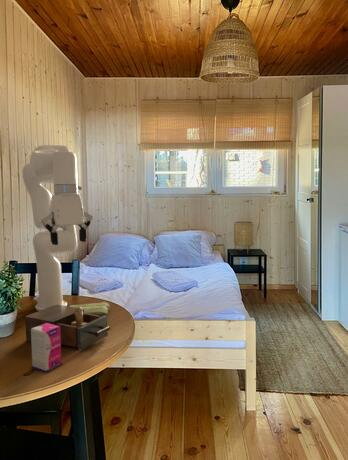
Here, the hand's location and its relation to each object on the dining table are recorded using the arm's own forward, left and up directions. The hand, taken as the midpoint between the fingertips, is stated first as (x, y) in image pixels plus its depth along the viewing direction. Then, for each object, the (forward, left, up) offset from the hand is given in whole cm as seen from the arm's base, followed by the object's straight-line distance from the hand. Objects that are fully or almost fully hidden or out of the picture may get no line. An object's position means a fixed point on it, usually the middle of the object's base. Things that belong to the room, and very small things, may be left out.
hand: (69, 243), depth 137 cm
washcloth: (-11, +19, -32) cm, 38 cm away
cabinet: (-5, -3, -32) cm, 32 cm away
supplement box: (+9, -21, -32) cm, 39 cm away
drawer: (+8, -3, -31) cm, 32 cm away
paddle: (+5, -3, -30) cm, 30 cm away
